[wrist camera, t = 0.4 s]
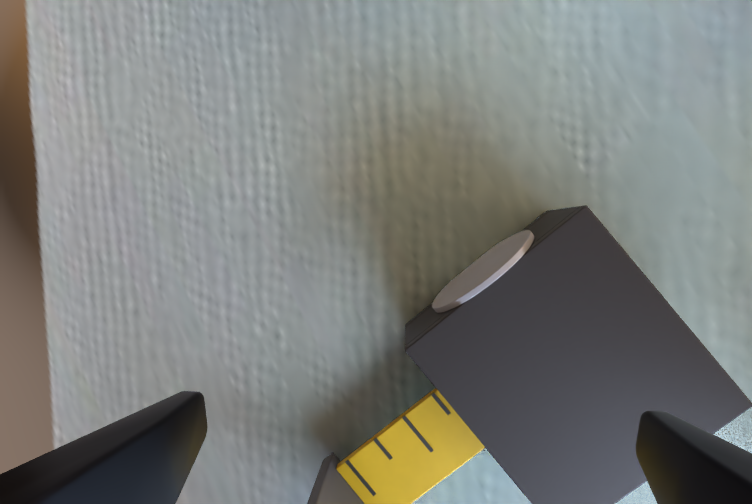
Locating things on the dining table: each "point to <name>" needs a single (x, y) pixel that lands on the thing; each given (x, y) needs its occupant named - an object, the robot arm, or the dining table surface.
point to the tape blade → (400, 458)
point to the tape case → (566, 359)
